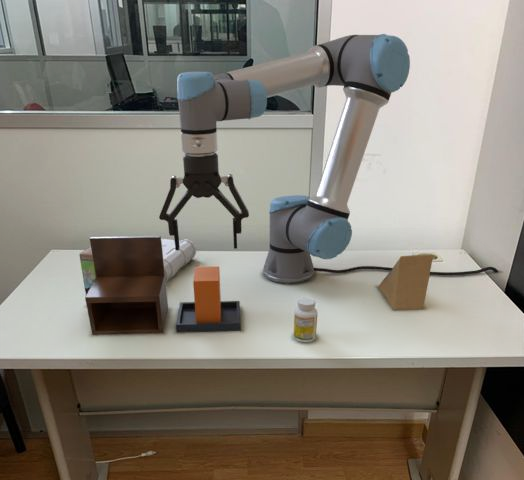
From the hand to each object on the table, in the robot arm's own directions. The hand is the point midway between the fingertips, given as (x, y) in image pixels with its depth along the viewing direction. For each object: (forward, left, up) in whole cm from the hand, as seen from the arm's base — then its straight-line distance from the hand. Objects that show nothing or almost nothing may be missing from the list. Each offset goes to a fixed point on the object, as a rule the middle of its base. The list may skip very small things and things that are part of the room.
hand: (206, 247), depth 125 cm
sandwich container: (-52, -10, -19) cm, 56 cm away
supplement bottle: (-23, +11, -19) cm, 32 cm away
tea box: (+26, -15, -19) cm, 36 cm away
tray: (0, 0, -19) cm, 19 cm away
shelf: (+20, 0, -19) cm, 27 cm away
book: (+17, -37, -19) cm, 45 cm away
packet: (0, 0, -19) cm, 18 cm away
